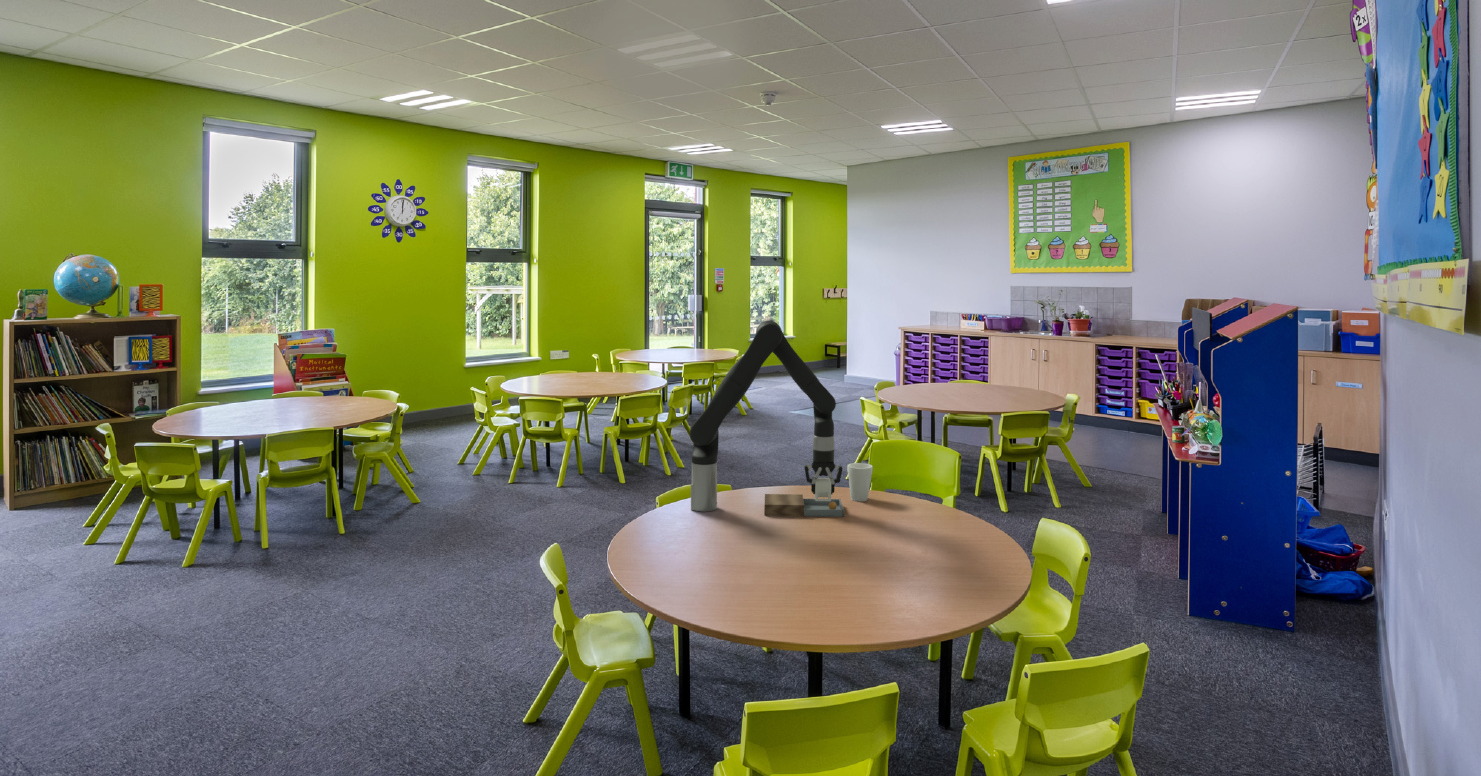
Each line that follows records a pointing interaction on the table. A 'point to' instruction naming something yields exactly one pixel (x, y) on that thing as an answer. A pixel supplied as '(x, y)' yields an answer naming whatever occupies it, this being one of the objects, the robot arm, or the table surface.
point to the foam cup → (859, 480)
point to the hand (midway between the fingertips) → (822, 493)
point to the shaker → (822, 489)
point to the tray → (823, 508)
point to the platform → (784, 505)
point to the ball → (832, 505)
